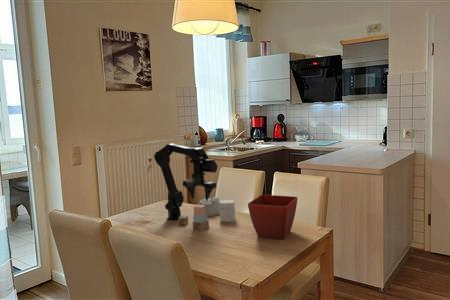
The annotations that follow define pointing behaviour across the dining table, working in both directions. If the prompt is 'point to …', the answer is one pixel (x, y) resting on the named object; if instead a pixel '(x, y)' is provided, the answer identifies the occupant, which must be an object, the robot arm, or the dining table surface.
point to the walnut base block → (201, 225)
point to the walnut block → (183, 220)
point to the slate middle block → (199, 218)
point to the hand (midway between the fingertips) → (199, 199)
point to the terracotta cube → (199, 209)
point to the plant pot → (272, 215)
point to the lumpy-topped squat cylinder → (211, 206)
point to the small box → (227, 211)
